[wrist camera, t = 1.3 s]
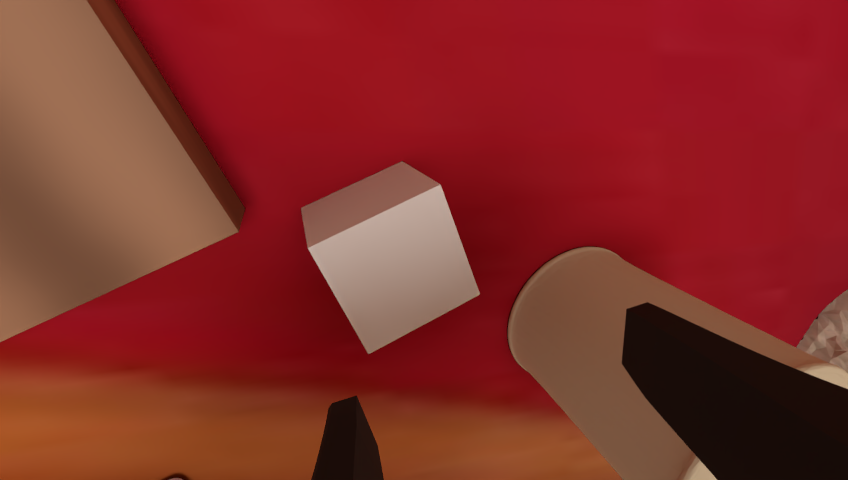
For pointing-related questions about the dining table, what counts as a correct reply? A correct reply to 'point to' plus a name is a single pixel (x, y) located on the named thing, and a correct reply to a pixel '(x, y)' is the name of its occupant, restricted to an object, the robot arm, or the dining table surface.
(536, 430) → the dining table surface
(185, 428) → the dining table surface
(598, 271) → the can
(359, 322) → the cube
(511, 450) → the dining table surface
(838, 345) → the ceramic cottage
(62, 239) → the plinth
